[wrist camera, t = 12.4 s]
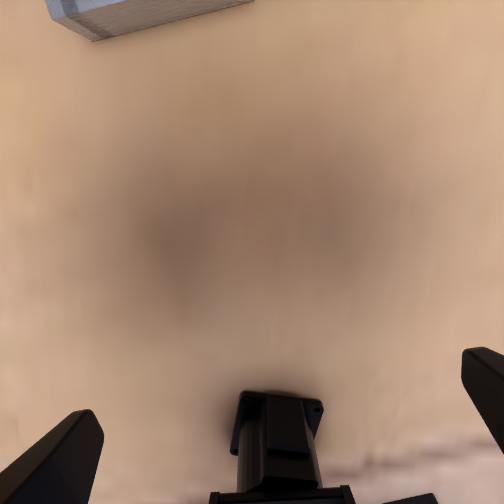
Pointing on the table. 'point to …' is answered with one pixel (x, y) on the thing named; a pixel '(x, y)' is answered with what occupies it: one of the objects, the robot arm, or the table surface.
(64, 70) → the table surface
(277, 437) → the robot arm
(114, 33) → the grey l-shaped stand
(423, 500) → the disk drive
